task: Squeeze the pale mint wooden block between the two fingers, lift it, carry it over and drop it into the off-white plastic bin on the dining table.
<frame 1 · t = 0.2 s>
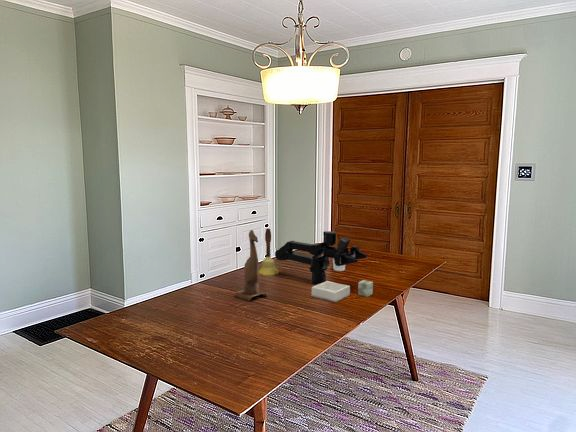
hand: (362, 258, 207), 17 cm above the table, tool horizontal, fingers open, 9 cm apart
bird sculpture: (251, 297, 204), on the table
mint block: (365, 294, 207), on the table
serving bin: (330, 295, 205), on the table
handbell: (268, 272, 244), on the table
white cup: (339, 269, 250), on the table
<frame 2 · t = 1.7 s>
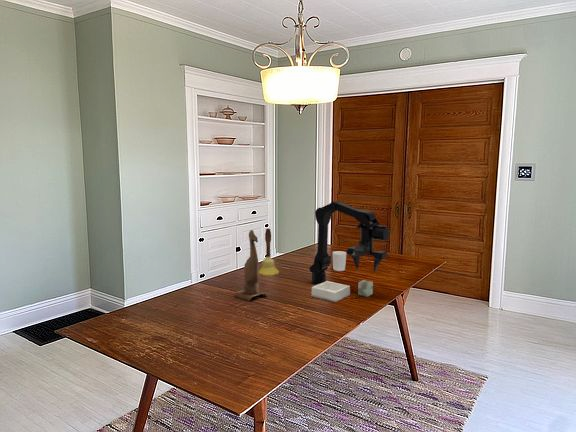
hand: (365, 270, 206), 12 cm above the table, tool pointing down, fingers open, 9 cm apart
nothing on the table moved.
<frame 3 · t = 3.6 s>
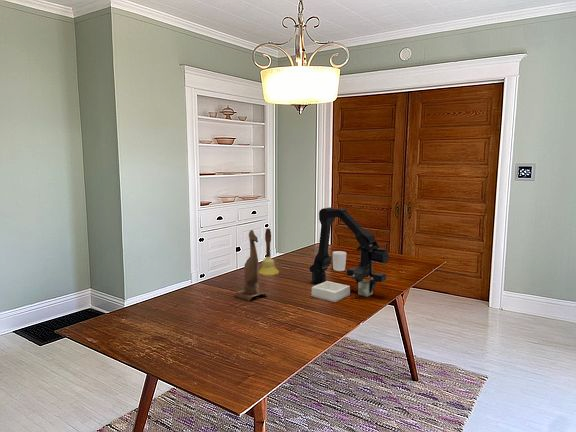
hand: (365, 292, 207), 1 cm above the table, tool pointing down, fingers closed on mint block, 5 cm apart
mint block: (365, 294, 207), on the table, touching gripper
everything else where it was.
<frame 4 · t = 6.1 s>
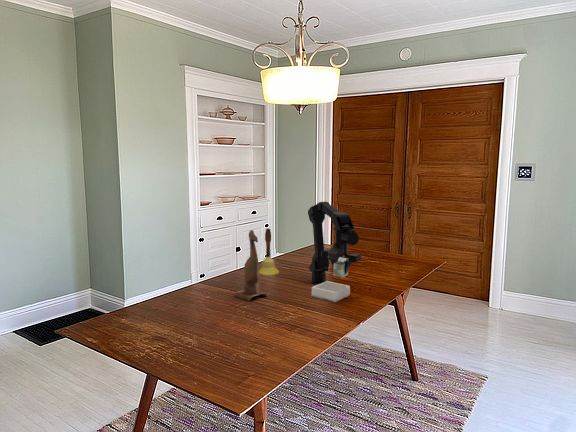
hand: (340, 273, 204), 11 cm above the table, tool pointing down, fingers closed on mint block, 5 cm apart
mint block: (340, 275, 204), point 10 cm above the table, touching gripper
everything else where it was.
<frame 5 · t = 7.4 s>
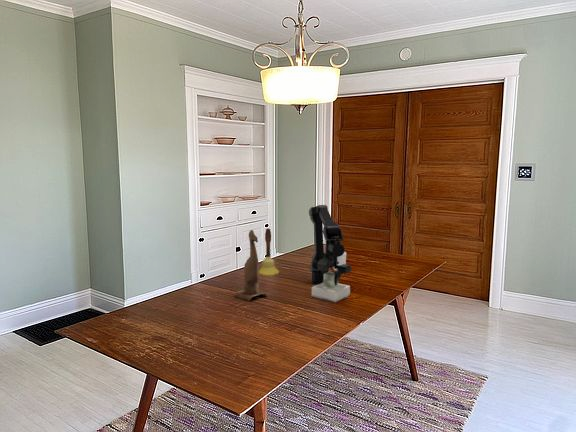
hand: (330, 283, 204), 6 cm above the table, tool pointing down, fingers closed on mint block, 5 cm apart
mint block: (330, 285, 204), point 5 cm above the table, touching gripper
everything else where it was.
when the fingers open (3 cm above the table, at t = 8.6 s): mint block drops 2 cm, resting on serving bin.
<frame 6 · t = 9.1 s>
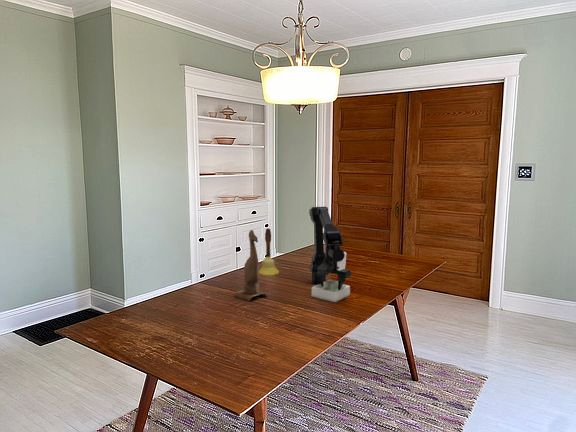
hand: (330, 288, 204), 3 cm above the table, tool pointing down, fingers open, 9 cm apart
mint block: (330, 294, 205), point 1 cm above the table, touching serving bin
everything else where it was.
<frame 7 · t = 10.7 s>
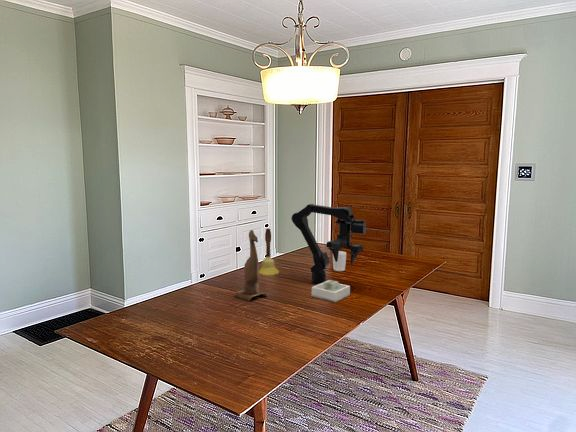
hand: (344, 263, 218), 12 cm above the table, tool pointing down, fingers open, 9 cm apart
nothing on the table moved.
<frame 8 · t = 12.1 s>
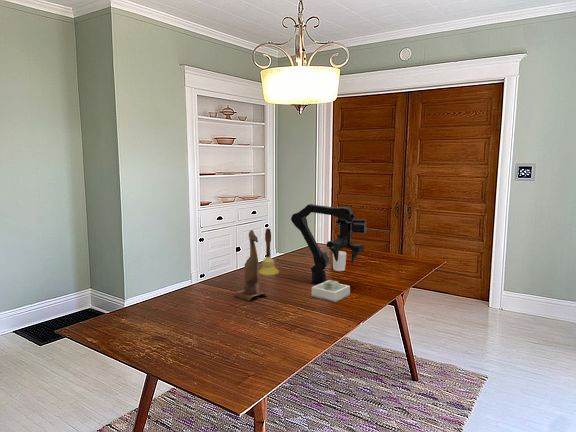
hand: (344, 262, 219), 12 cm above the table, tool pointing down, fingers open, 9 cm apart
nothing on the table moved.
at the end: mint block inside the target area on the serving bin (0.0 cm from its centre), point 0.8 cm above the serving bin's base; the gripper is holding nothing; mint block tilted 0° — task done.
